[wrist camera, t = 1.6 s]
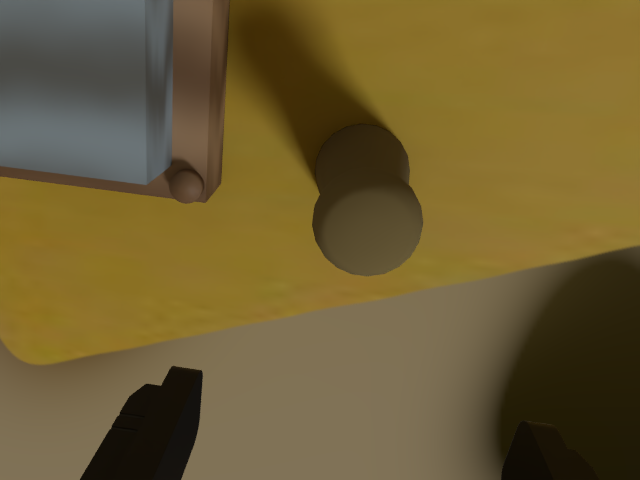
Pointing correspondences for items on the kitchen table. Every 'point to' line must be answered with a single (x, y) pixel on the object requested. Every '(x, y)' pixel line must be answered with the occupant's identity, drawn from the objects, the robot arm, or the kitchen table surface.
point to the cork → (365, 201)
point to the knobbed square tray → (114, 94)
